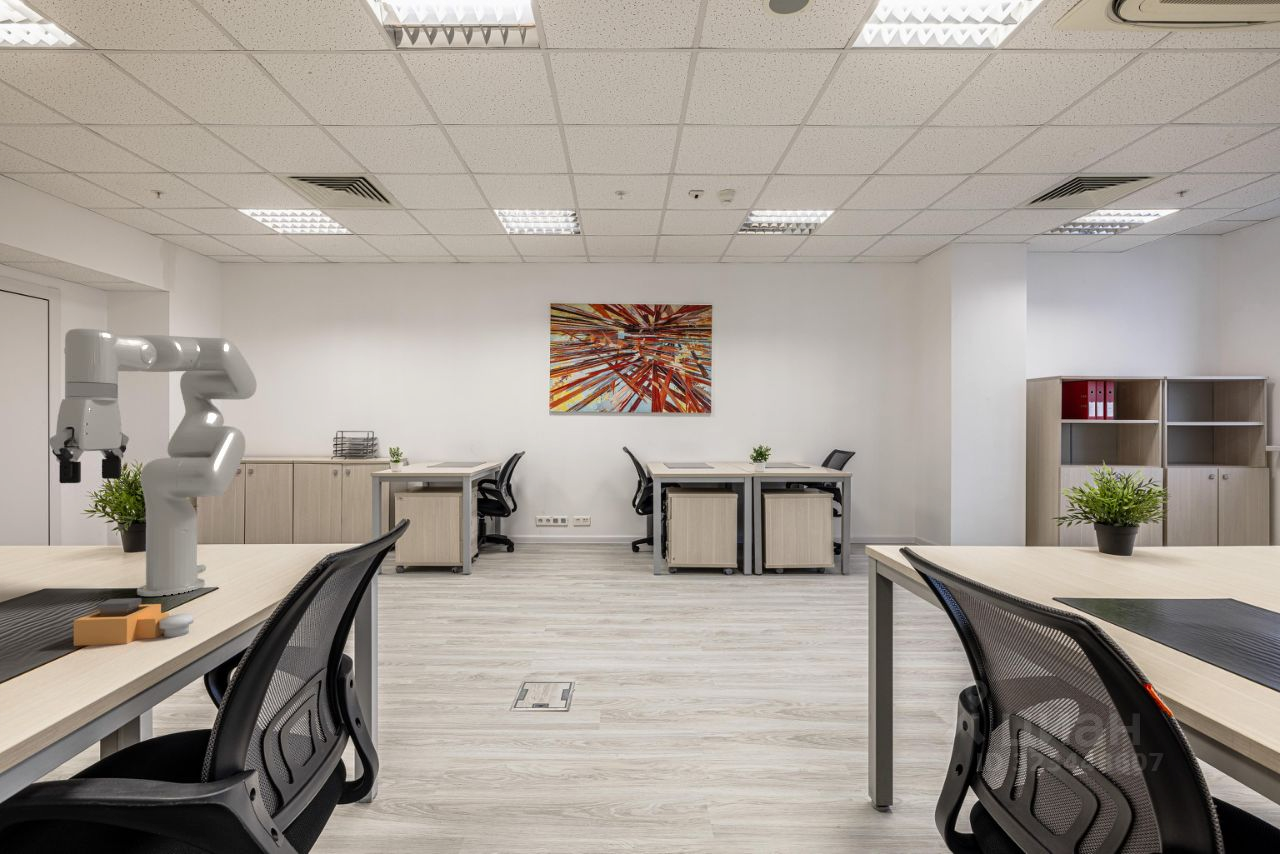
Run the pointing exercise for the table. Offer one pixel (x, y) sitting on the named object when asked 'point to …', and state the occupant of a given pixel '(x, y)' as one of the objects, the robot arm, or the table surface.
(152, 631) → the orange handled frame
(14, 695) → the table surface
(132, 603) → the grey rectangular block
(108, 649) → the table surface
